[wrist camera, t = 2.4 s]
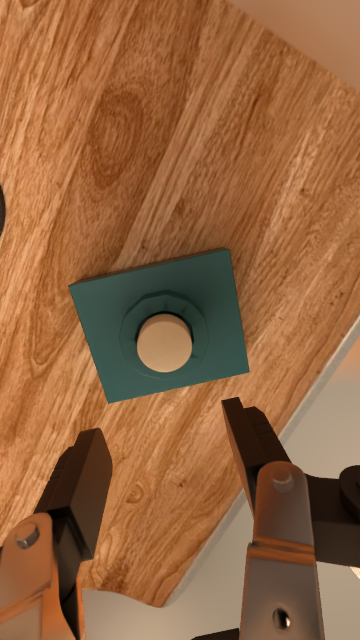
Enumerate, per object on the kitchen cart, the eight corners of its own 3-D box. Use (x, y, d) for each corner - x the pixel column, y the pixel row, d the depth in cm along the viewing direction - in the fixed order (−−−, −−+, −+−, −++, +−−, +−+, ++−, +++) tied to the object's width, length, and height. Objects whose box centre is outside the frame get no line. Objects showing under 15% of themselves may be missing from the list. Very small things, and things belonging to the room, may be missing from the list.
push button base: (222, 247, 25) (235, 249, 21) (241, 359, 28) (256, 382, 24) (77, 280, 25) (59, 290, 21) (113, 388, 28) (104, 416, 24)
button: (184, 308, 22) (185, 315, 20) (194, 354, 23) (197, 365, 21) (133, 319, 22) (130, 328, 20) (146, 365, 23) (144, 377, 21)
